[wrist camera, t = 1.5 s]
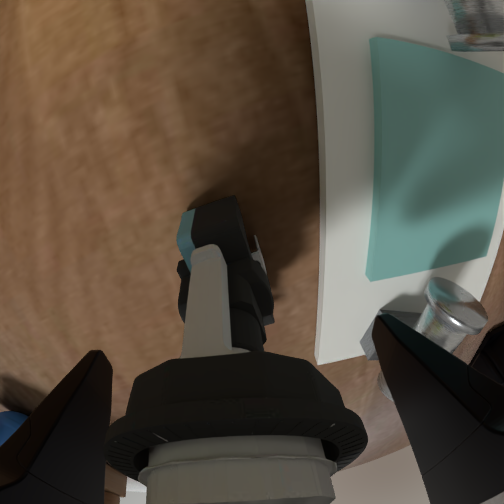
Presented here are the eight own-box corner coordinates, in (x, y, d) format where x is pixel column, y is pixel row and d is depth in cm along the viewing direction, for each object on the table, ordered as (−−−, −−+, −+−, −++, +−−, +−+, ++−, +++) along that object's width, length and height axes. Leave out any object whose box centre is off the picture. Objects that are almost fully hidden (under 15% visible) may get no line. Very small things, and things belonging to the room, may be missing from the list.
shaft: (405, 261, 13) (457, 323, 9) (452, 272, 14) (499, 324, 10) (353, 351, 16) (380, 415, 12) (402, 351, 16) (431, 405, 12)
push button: (303, 302, 14) (370, 503, 6) (201, 331, 15) (202, 531, 6) (267, 173, 11) (402, 440, 2) (140, 217, 11) (36, 471, 3)
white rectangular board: (494, -10, 6) (511, -12, 5) (466, 313, 17) (476, 325, 16) (290, -78, 5) (298, -93, 4) (314, 354, 16) (320, 373, 15)
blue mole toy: (-40, 372, 16) (-66, 429, 9) (29, 393, 17) (4, 472, 10) (13, 430, 22) (-1, 480, 15) (83, 450, 23) (73, 511, 16)
